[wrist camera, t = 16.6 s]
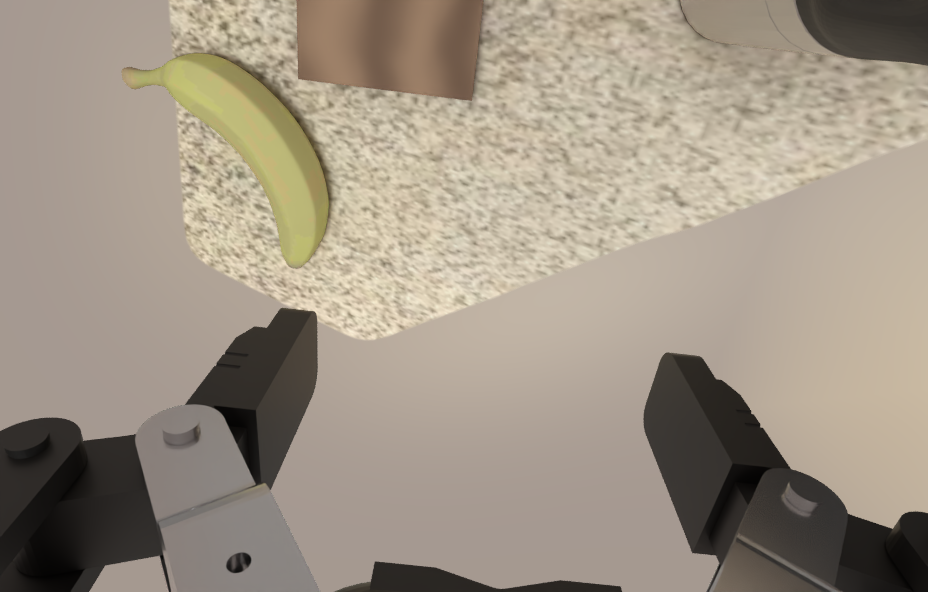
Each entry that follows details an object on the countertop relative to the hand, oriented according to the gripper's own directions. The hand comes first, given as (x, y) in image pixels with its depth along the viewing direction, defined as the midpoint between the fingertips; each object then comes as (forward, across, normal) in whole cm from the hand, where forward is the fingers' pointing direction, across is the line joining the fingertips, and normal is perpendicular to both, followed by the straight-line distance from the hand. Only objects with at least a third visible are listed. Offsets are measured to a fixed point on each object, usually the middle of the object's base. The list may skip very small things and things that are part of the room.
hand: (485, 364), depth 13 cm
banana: (+35, +12, +10) cm, 39 cm away
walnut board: (+38, +8, -8) cm, 40 cm away
